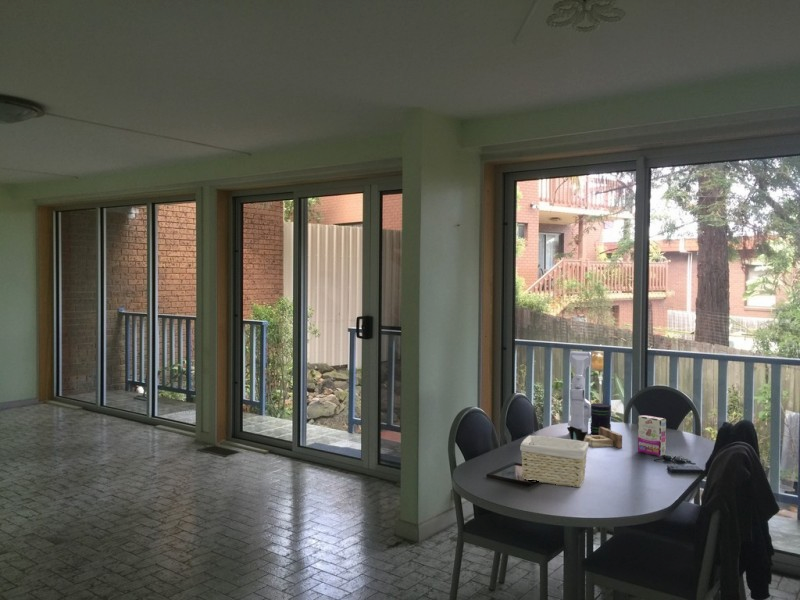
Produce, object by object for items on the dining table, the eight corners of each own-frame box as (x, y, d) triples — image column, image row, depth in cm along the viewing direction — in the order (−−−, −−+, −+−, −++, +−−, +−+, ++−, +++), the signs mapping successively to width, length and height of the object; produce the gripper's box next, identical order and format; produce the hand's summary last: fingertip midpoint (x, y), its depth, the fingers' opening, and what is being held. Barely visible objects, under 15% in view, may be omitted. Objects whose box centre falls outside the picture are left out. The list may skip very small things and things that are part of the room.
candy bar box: (666, 455, 280) (667, 418, 279) (660, 457, 277) (660, 419, 276) (643, 450, 289) (643, 414, 288) (637, 451, 286) (637, 415, 285)
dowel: (572, 448, 290) (572, 431, 290) (578, 448, 290) (578, 431, 290) (575, 450, 287) (575, 433, 287) (581, 450, 287) (582, 432, 287)
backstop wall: (598, 439, 309) (598, 426, 309) (602, 439, 310) (602, 426, 309) (618, 448, 291) (618, 435, 291) (622, 448, 292) (622, 435, 292)
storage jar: (613, 433, 321) (613, 404, 320) (608, 437, 312) (608, 407, 312) (593, 431, 326) (593, 402, 326) (587, 435, 318) (588, 405, 317)
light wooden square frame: (583, 441, 303) (583, 435, 303) (602, 441, 305) (602, 434, 305) (593, 447, 293) (593, 440, 293) (613, 446, 295) (613, 439, 295)
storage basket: (589, 478, 246) (589, 440, 245) (583, 490, 231) (584, 450, 230) (527, 470, 255) (528, 434, 255) (518, 481, 240) (519, 443, 240)
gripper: (562, 411, 295) (561, 440, 295) (576, 418, 280) (576, 448, 281) (576, 411, 296) (575, 440, 296) (591, 417, 282) (590, 448, 282)
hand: (577, 444), depth 289 cm, fingers open, 5 cm apart
